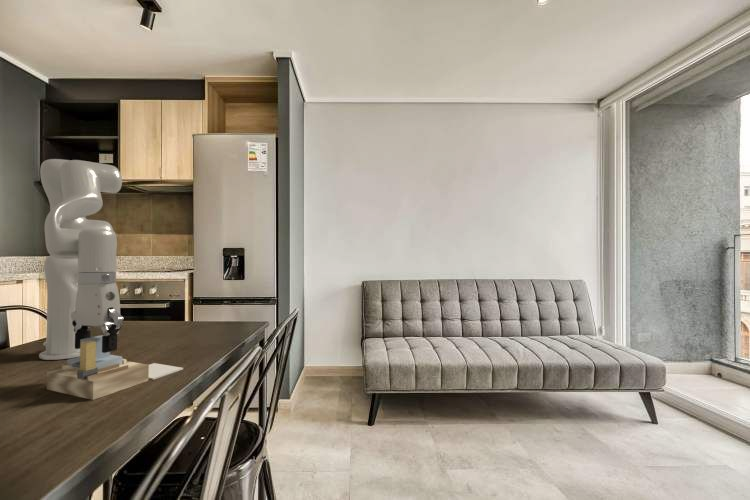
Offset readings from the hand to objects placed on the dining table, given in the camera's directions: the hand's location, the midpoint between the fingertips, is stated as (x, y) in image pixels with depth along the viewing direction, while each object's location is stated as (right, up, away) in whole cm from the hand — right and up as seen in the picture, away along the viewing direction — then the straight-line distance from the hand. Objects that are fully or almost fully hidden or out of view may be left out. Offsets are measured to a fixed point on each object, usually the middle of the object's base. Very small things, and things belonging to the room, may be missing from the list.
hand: (95, 349), depth 90 cm
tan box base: (+2, -8, -1) cm, 8 cm away
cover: (0, -4, 0) cm, 4 cm away
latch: (+3, -4, -7) cm, 9 cm away
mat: (+9, -8, +9) cm, 15 cm away
